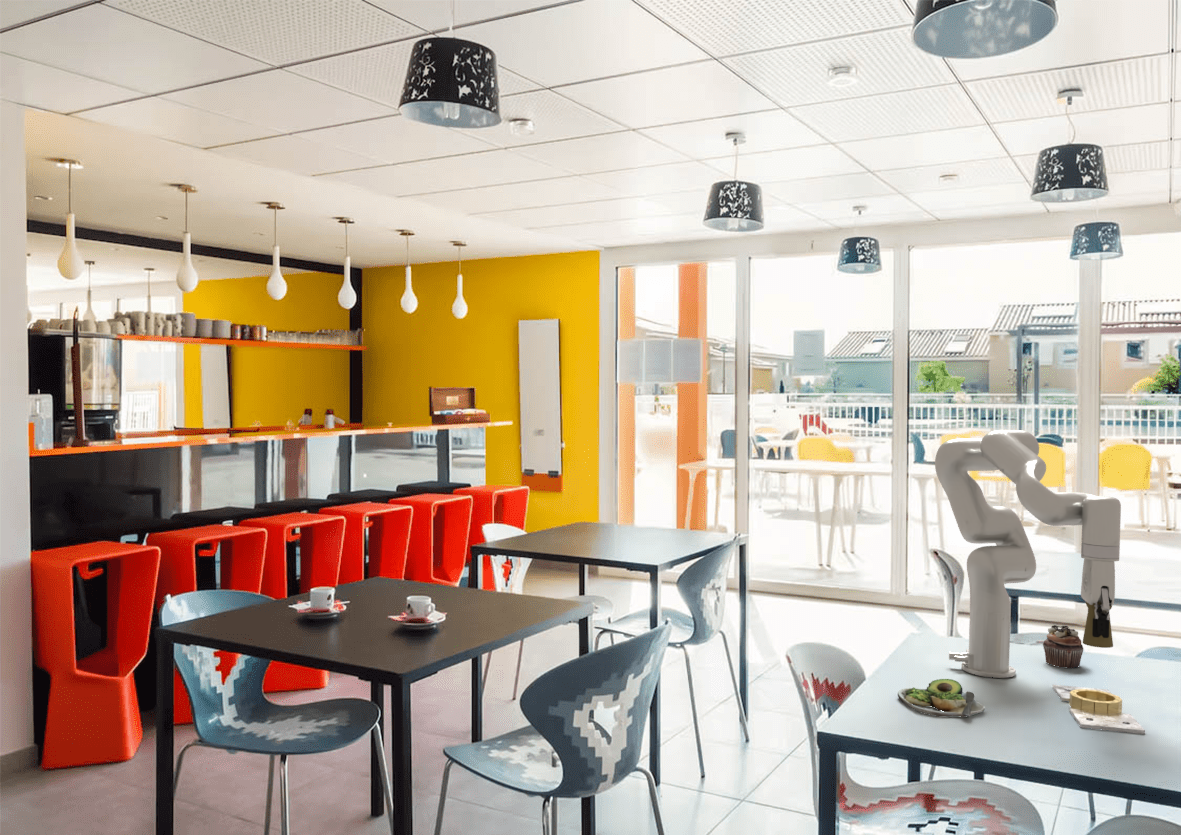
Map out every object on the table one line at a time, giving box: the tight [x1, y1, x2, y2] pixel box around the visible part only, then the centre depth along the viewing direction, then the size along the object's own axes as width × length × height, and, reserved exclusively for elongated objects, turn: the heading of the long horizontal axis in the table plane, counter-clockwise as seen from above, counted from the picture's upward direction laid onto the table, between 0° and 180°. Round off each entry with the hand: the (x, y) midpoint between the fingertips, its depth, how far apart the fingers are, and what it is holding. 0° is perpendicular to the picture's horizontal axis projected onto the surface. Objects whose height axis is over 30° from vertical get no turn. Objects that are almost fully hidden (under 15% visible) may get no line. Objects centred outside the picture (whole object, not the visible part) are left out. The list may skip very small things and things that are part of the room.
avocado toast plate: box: [897, 678, 985, 718], centre depth 214 cm, size 19×18×5 cm
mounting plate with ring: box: [1051, 684, 1146, 735], centre depth 215 cm, size 12×30×3 cm, turn 165°
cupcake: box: [1042, 624, 1084, 669], centre depth 253 cm, size 10×10×10 cm
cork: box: [1082, 598, 1114, 649], centre depth 214 cm, size 6×6×11 cm
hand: (1097, 633), depth 214 cm, fingers closed on cork, 4 cm apart
